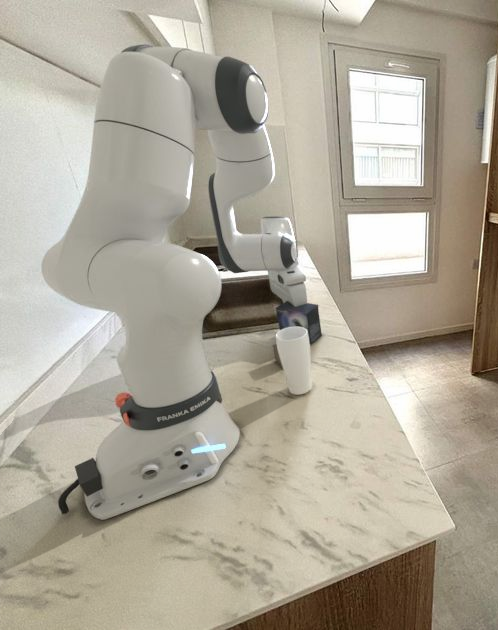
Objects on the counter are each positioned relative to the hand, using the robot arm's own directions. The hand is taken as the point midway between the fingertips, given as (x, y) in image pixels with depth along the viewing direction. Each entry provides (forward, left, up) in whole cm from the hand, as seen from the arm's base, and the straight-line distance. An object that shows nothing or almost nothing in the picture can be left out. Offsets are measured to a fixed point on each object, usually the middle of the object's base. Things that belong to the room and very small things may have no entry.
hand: (290, 312), depth 105 cm
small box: (-1, -9, -5) cm, 11 cm away
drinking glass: (-12, -33, -5) cm, 36 cm away
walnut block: (-9, -20, -4) cm, 23 cm away
